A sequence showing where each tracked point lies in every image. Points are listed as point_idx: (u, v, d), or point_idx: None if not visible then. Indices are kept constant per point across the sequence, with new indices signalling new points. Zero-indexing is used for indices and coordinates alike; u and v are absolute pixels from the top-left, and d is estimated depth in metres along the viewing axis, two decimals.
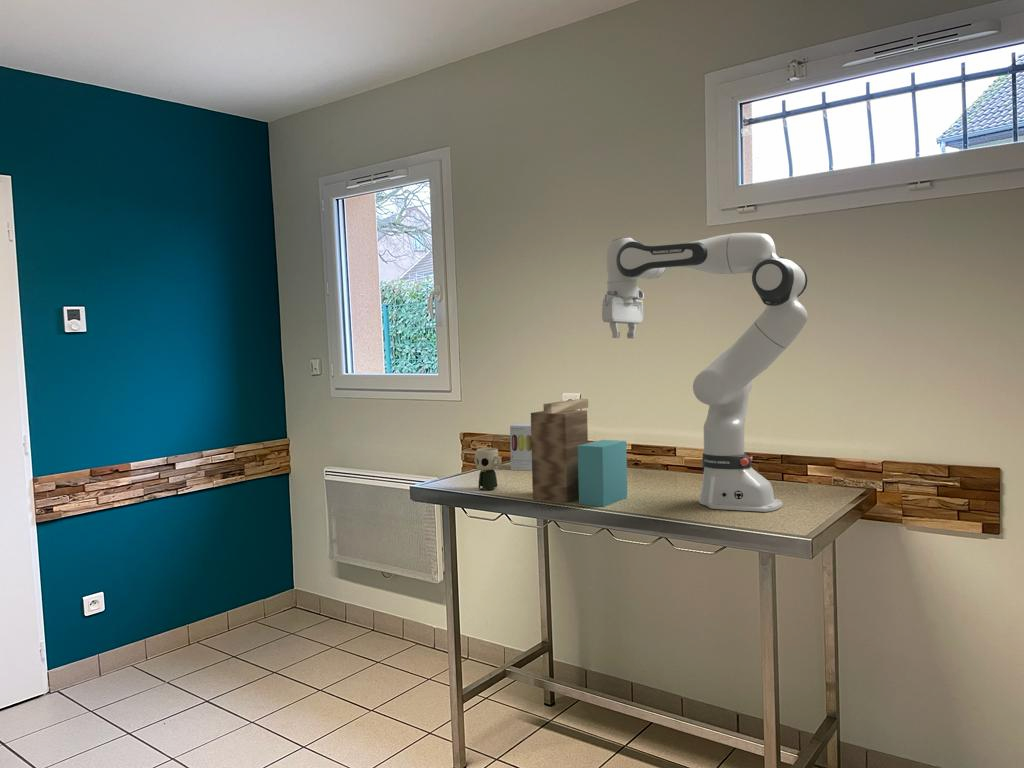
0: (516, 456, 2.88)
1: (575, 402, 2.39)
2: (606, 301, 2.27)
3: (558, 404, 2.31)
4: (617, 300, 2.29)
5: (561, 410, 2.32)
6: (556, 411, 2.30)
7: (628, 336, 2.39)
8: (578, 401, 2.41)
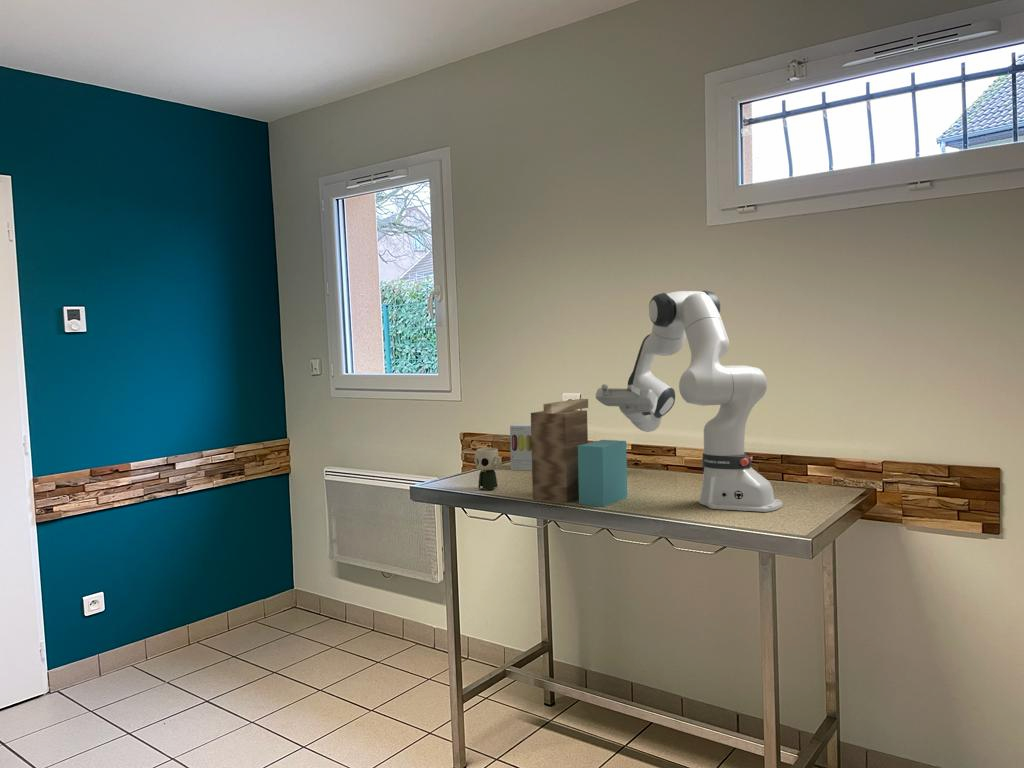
0: (516, 456, 2.88)
1: (575, 402, 2.39)
2: None
3: (558, 404, 2.31)
4: None
5: (561, 410, 2.32)
6: (556, 411, 2.30)
7: None
8: (578, 401, 2.41)
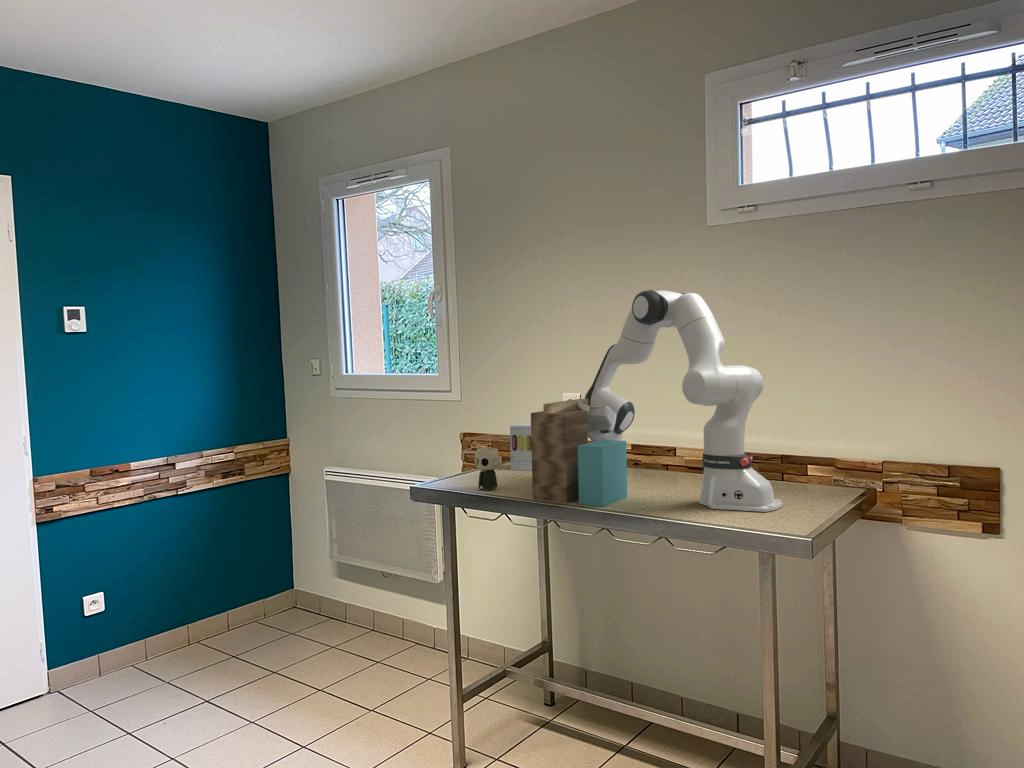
0: (516, 456, 2.88)
1: (575, 402, 2.39)
2: None
3: (558, 404, 2.31)
4: None
5: (561, 410, 2.32)
6: (556, 411, 2.30)
7: None
8: (578, 401, 2.41)
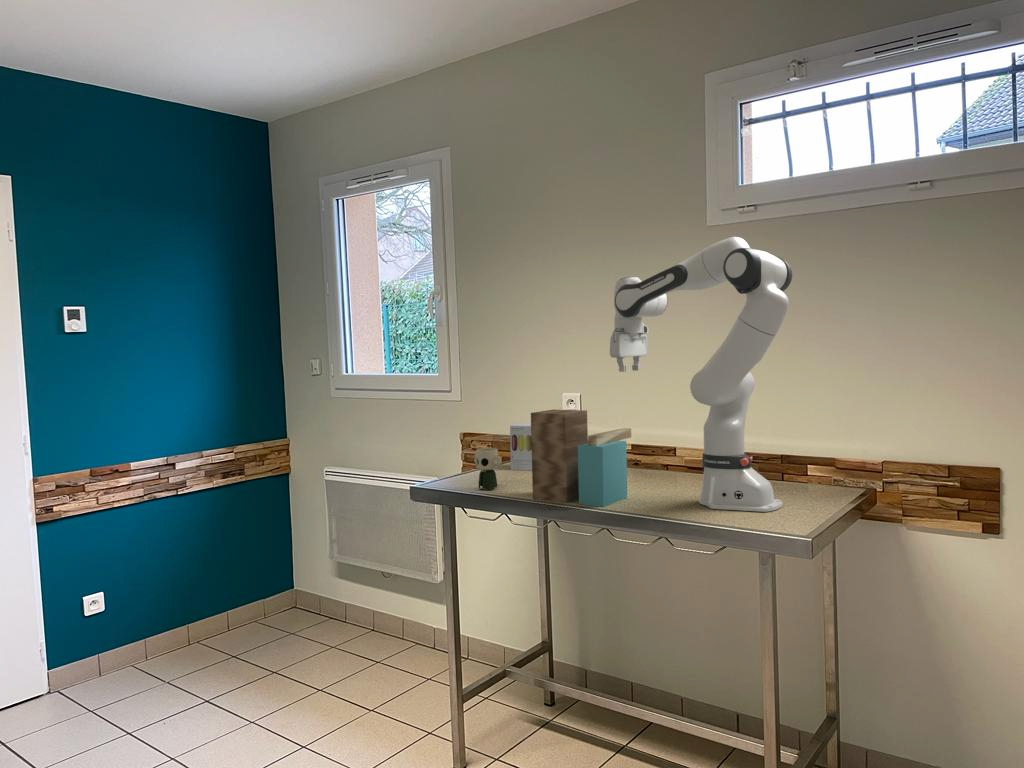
0: (516, 456, 2.88)
1: (619, 432, 2.33)
2: (614, 338, 2.41)
3: (603, 436, 2.25)
4: (624, 337, 2.43)
5: (606, 441, 2.26)
6: (601, 443, 2.24)
7: (633, 368, 2.54)
8: (622, 431, 2.34)
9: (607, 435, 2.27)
